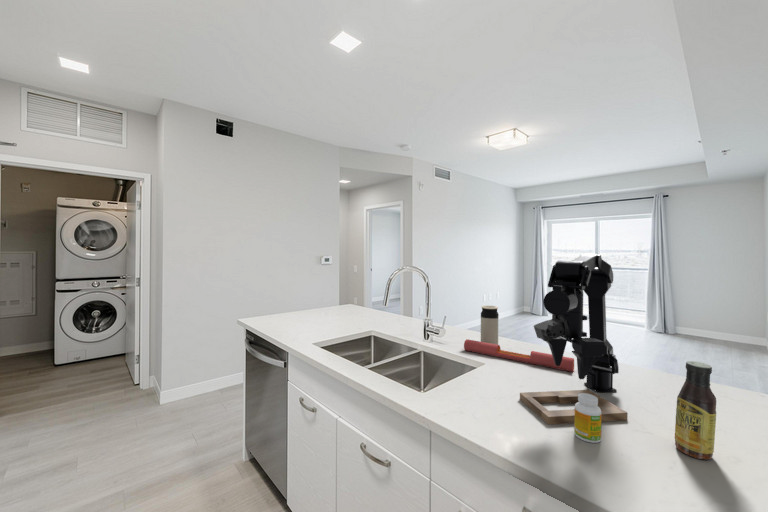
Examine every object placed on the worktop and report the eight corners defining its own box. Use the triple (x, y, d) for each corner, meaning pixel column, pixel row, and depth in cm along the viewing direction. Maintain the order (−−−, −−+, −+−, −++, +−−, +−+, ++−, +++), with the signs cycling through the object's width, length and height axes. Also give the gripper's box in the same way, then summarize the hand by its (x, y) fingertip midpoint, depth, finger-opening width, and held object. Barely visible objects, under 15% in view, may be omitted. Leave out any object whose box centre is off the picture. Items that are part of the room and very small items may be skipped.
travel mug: (500, 347, 148) (501, 308, 148) (483, 347, 148) (483, 308, 148) (495, 342, 156) (495, 305, 156) (478, 342, 156) (478, 305, 156)
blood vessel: (463, 351, 142) (463, 340, 142) (468, 349, 146) (468, 338, 146) (572, 374, 117) (572, 360, 117) (574, 370, 121) (574, 356, 121)
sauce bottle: (666, 444, 74) (668, 358, 73) (691, 443, 74) (693, 357, 74) (697, 463, 67) (698, 369, 67) (724, 461, 68) (726, 368, 67)
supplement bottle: (592, 446, 73) (593, 403, 73) (569, 434, 78) (569, 394, 78) (605, 439, 75) (606, 398, 75) (582, 428, 80) (583, 389, 80)
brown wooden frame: (588, 396, 98) (588, 389, 98) (627, 420, 84) (627, 412, 84) (519, 399, 96) (519, 392, 96) (548, 424, 82) (548, 416, 82)
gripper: (520, 304, 90) (519, 360, 90) (562, 317, 71) (561, 387, 71) (558, 304, 91) (557, 359, 91) (610, 317, 72) (608, 387, 72)
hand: (568, 371), depth 81 cm, fingers open, 9 cm apart
